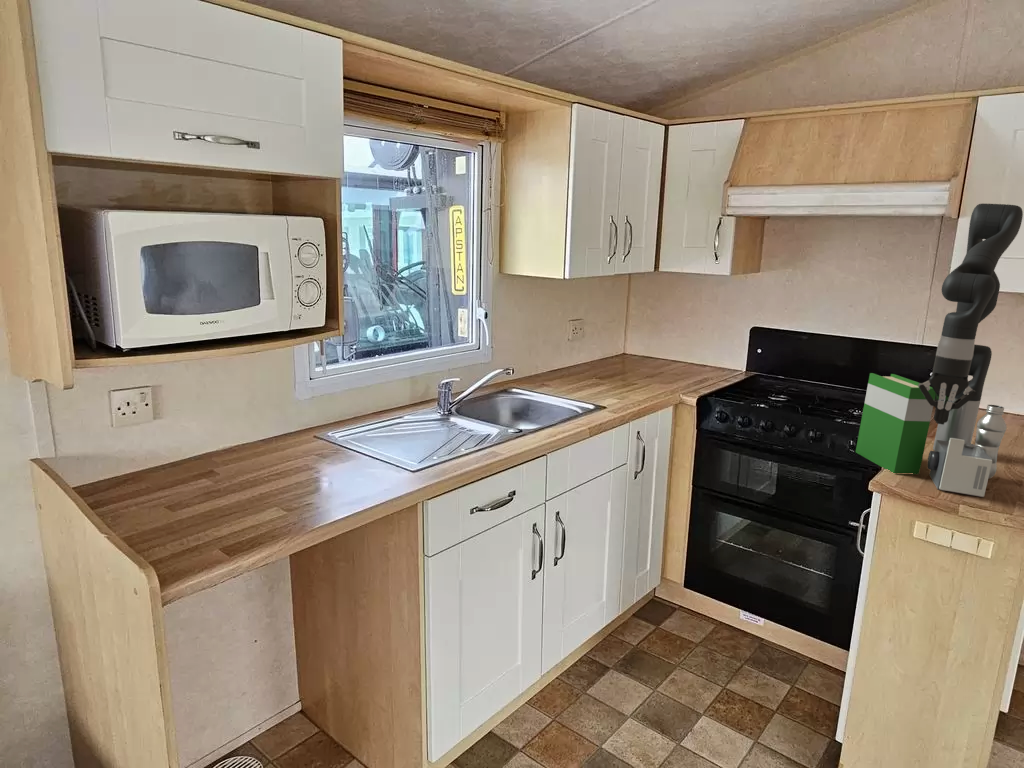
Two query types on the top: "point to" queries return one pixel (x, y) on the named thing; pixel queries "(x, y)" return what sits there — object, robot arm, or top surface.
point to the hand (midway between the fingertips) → (939, 423)
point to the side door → (964, 471)
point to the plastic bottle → (991, 433)
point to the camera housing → (939, 456)
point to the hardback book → (894, 423)
